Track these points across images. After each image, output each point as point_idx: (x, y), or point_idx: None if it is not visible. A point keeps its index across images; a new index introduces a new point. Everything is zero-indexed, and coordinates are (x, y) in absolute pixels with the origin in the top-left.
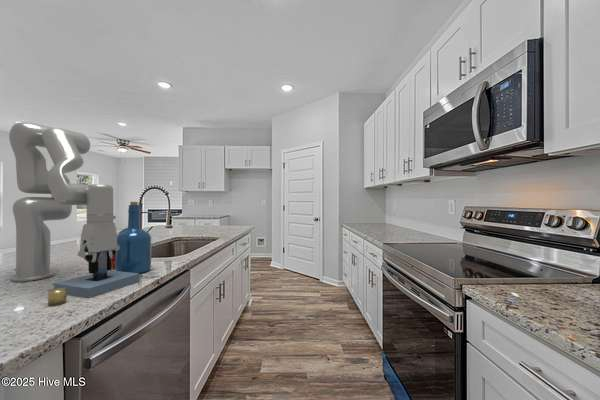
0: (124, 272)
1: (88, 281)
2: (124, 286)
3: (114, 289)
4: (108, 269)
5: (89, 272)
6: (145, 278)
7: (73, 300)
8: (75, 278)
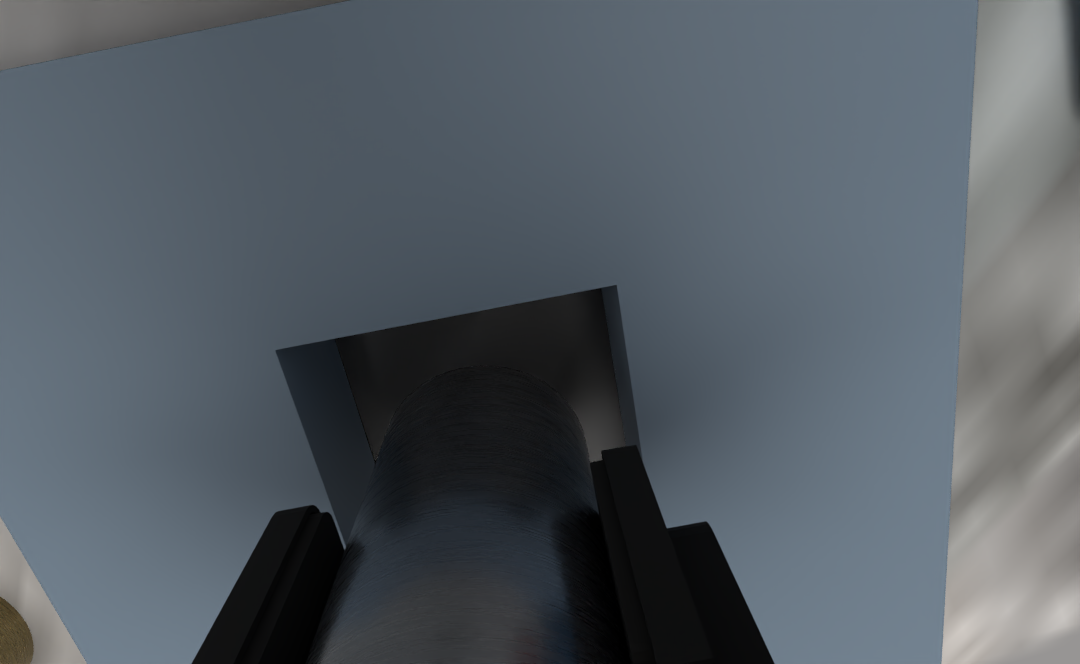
0: (921, 439)
1: None
2: None
3: None
4: None
5: (281, 524)
6: (1020, 517)
7: None
8: (177, 61)
